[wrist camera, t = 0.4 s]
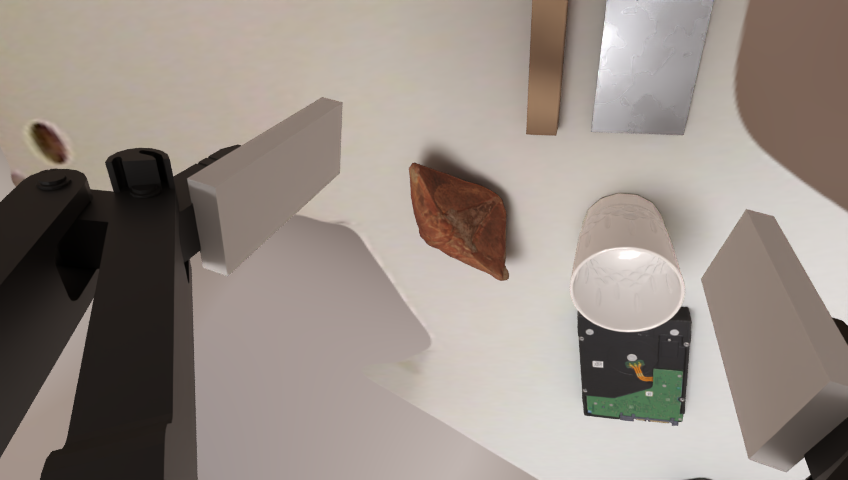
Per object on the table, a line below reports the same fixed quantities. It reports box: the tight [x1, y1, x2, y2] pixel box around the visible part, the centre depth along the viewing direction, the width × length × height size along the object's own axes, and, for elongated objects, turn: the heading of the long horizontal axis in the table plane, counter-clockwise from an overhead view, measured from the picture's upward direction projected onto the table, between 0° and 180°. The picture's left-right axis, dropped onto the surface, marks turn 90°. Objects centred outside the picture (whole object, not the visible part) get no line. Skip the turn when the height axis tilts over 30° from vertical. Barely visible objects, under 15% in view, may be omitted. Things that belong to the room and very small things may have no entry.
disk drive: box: [577, 307, 692, 426], centre depth 50 cm, size 10×3×15 cm
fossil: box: [409, 163, 509, 281], centre depth 44 cm, size 13×8×10 cm
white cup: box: [570, 193, 685, 332], centre depth 39 cm, size 8×8×10 cm
